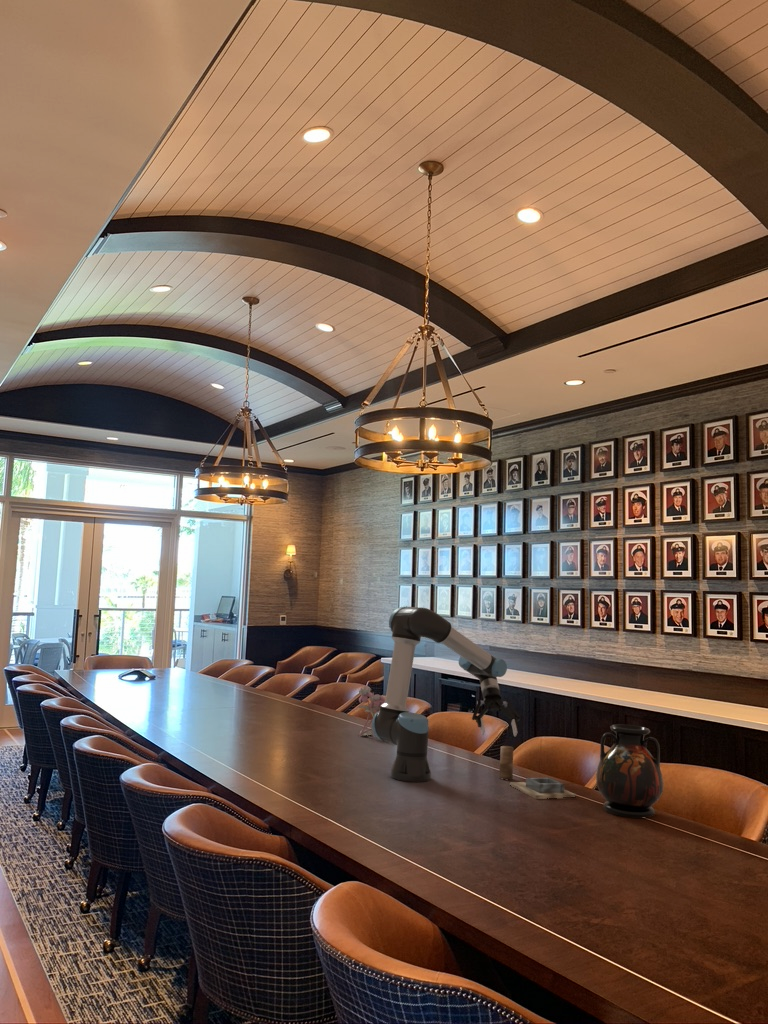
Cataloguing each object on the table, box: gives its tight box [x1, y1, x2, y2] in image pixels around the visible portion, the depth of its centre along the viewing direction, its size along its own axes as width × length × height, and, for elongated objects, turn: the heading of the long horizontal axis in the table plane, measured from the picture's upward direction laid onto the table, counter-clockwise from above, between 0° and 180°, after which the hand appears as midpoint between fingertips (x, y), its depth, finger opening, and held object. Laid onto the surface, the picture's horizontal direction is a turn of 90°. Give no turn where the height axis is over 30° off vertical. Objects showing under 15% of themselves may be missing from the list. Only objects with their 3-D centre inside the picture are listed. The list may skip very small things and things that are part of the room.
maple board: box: [509, 777, 577, 800], centre depth 284 cm, size 16×20×4 cm
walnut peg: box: [499, 745, 514, 780], centre depth 303 cm, size 5×5×12 cm
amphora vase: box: [595, 723, 664, 819], centre depth 261 cm, size 22×22×28 cm
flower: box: [356, 685, 386, 737], centre depth 384 cm, size 20×22×25 cm
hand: (499, 734), depth 315 cm, fingers open, 13 cm apart
